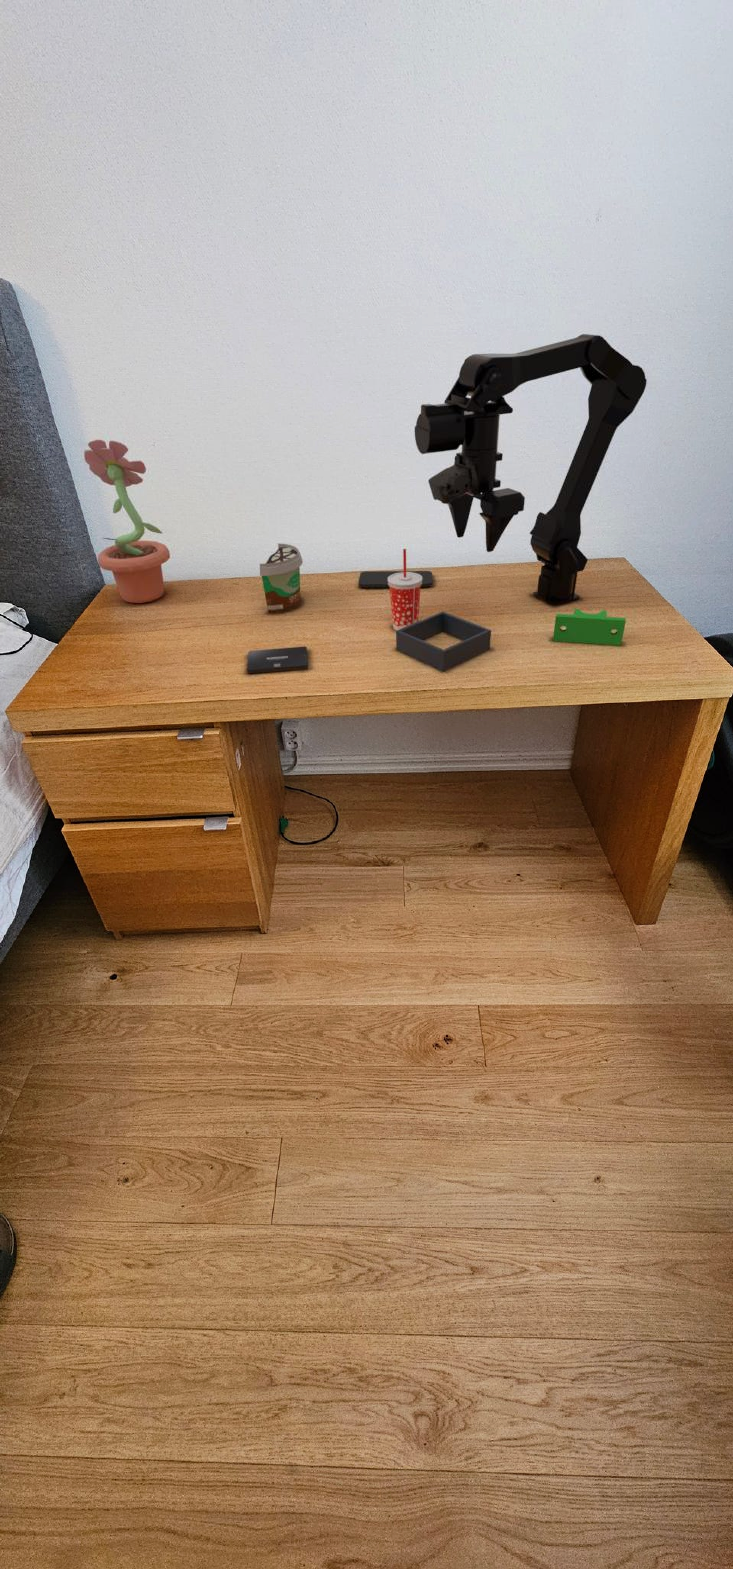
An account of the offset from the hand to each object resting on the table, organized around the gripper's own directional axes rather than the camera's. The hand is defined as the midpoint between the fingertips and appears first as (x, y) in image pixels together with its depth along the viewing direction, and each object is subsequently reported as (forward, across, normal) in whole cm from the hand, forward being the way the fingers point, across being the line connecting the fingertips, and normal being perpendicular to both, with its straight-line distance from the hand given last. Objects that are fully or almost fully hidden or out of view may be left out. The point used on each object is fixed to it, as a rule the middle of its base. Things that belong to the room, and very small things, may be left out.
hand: (474, 544), depth 121 cm
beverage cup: (+13, -2, -13) cm, 19 cm away
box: (+13, +10, -12) cm, 20 cm away
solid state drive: (+13, -1, -38) cm, 40 cm away
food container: (+13, -23, -27) cm, 38 cm away
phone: (+13, -22, -4) cm, 26 cm away
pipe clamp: (+13, +19, +11) cm, 26 cm away
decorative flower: (+13, -43, -51) cm, 68 cm away
